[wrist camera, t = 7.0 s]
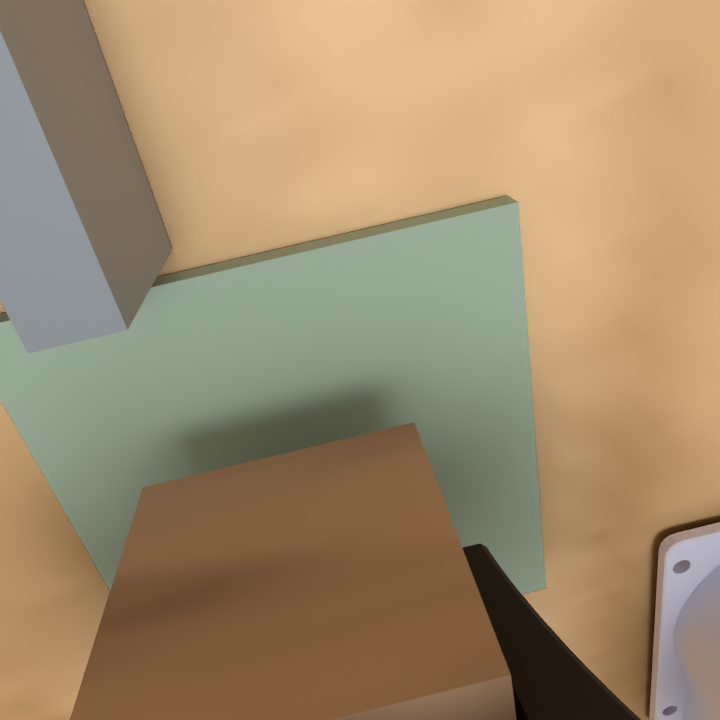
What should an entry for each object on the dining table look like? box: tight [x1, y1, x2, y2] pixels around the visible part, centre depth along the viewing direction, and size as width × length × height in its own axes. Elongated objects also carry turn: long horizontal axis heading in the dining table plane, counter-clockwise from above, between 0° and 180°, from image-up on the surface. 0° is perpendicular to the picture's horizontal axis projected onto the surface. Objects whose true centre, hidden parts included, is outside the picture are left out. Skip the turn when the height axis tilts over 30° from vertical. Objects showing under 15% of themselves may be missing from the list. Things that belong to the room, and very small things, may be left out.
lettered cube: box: [70, 422, 517, 720], centre depth 10 cm, size 5×5×5 cm
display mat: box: [0, 196, 546, 594], centre depth 14 cm, size 11×11×1 cm
